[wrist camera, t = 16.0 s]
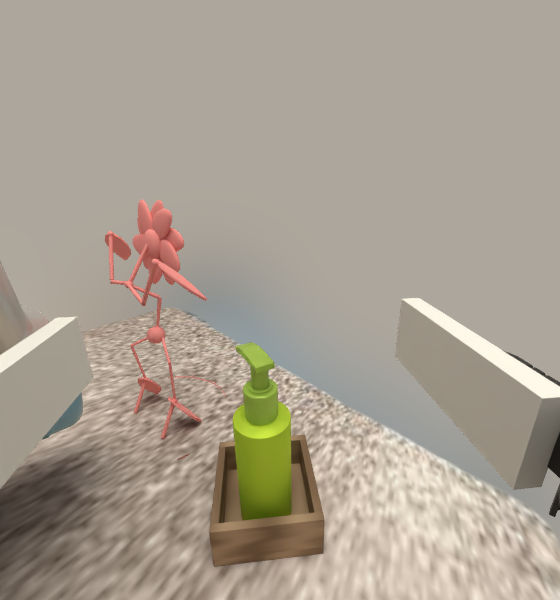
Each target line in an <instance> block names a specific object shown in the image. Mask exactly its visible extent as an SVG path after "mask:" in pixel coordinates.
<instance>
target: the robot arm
mask: <svg viewBox="0 0 560 600" xmlns="http://www.w3.org/2000/svg"><path fill="white" fill-rule="evenodd" d="M395 357H396V358H397V359H398V360H399V361H400V362H401V363H402V365H403V366H404V367H405V368H406V369H407V370H408V371H409V372H410V374H411V375H412V376H413V377H414V378H415V379H416V380H417V381H418V383H419V384H420V385H421V386H422V387H423V388H424V389H425V391H426V392H427V393H428V394H429V395H430V396H431V397H432V398H433V400H434V401H435V402H436V403H437V404H438V405H439V406H440V408H441V409H442V410H443V411H444V412H445V413H446V414H447V415H448V416H449V418H450V419H451V420H452V421H453V422H454V423H455V424H456V426H457V427H458V428H459V429H460V430H461V431H462V432H463V434H464V435H465V436H466V437H467V438H468V439H469V440H470V441H471V443H472V444H473V445H474V446H475V447H476V448H477V449H478V451H479V452H480V453H481V454H482V455H483V456H484V457H485V458H486V459H487V461H488V462H489V463H490V464H491V465H492V466H493V468H494V469H495V470H496V471H497V472H498V473H499V474H500V475H501V477H502V478H503V479H504V480H505V481H506V482H507V483H508V485H509V486H510V487H511V488H512V489H513V490H515V489H525V488H534V487H541V486H542V483H543V481H544V478H545V475H546V472H547V470H548V468H549V469H550V470H552V471H553V472H554V473H555V474H556V475H557V476H558V477H559V478H560V382H558V381H556V380H555V379H553V378H552V377H550V376H546V375H545V373H544V372H542V371H540V370H539V369H537V368H533V366H532V365H531V364H529V363H527V362H526V361H524V360H523V359H521V358H519V357H518V356H515V355H513V354H510V353H508V352H505V351H503V350H501V349H499V348H498V347H496V346H494V345H493V344H491V343H490V342H488V341H486V340H485V339H483V338H482V337H480V336H478V335H477V334H475V333H474V332H472V331H470V330H469V329H467V328H466V327H464V326H463V325H461V324H460V323H458V322H456V321H455V320H453V319H452V318H450V317H448V316H447V315H445V314H444V313H442V312H440V311H439V310H437V309H436V308H434V307H433V306H431V305H429V304H428V303H426V302H425V301H423V300H421V299H420V298H410V299H402V301H401V310H400V318H399V326H398V336H397V343H396V352H395ZM92 379H93V374H92V370H91V366H90V362H89V359H88V355H87V351H86V347H85V344H84V340H83V336H82V332H81V329H80V325H79V322H78V318H77V317H65V318H56V319H54V320H53V321H51V322H50V323H49V322H48V320H47V319H46V317H45V316H44V315H43V314H42V313H40V312H39V311H37V310H35V309H33V308H31V307H29V306H25V305H22V304H20V303H19V301H18V299H17V297H16V295H15V292H14V290H13V288H12V286H11V284H10V282H9V279H8V277H7V275H6V273H5V270H4V268H3V266H2V264H1V262H0V489H1V488H2V486H3V485H4V484H5V483H6V482H7V480H8V479H9V478H10V477H11V476H12V474H13V473H14V472H15V471H16V470H17V468H18V467H19V466H20V465H21V464H22V463H23V461H24V460H25V459H26V458H27V457H28V455H29V454H30V453H31V452H32V451H33V449H34V448H35V447H36V446H37V445H38V443H39V442H40V441H41V440H43V439H46V438H48V437H49V436H50V435H51V434H54V433H56V432H59V431H61V430H63V429H66V428H68V427H71V426H72V425H74V424H75V423H76V422H78V420H79V419H80V417H81V415H82V412H83V401H82V391H83V389H84V388H85V387H86V386H87V385H88V383H89V382H90V381H91V380H92ZM558 510H560V485H559V487H558V490H557V492H556V495H555V498H554V500H553V503H552V505H551V508H550V512H549V515H551V516H554V517H555V516H556V513H557V511H558Z"/></svg>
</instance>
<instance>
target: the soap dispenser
mask: <svg viewBox="0 0 560 600" xmlns="http://www.w3.org/2000/svg"><path fill="white" fill-rule="evenodd" d="M235 348H236V351H237V352H238V353H240V354H241V355H242V356H243V357H244V359H245V360H246V361H247V363H248V364H249V365H250V369H251V380H250V381H248V382H247V383H246V384H245V385H244V388H243V396H244V404H243V405H241V406H240V407H239V408H238V409H237V410H236V412H235V413H234V416H233V430H234V441H235V452H236V463H237V474H238V485H239V496H240V507H241V516H242V519H243V521H244V520H253V519H262V518H271V517H280V516H289V515H291V510H292V494H291V415H290V412H289V410H288V408H287V407H286V406H285V405H284V404H283V403H281V402H279V401H278V388H277V384H276V383H275V382H274V381H273V380H271V379H269V376H268V370H269V369H272V368H274V362H273V361H272V359H271V358H270V357H269V356H268V355H267V354H266V353H265V351H264V350H263V349H262V348H261V347H259V346H258V345H256V344H255V343H252V342H251V343H247V344H243V345H239V346H235Z"/></svg>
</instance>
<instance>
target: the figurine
mask: <svg viewBox="0 0 560 600" xmlns="http://www.w3.org/2000/svg"><path fill="white" fill-rule="evenodd" d="M171 222H172V215H171V212H170V211H169V210H167V209H164V207H163V204H162V202H161V200H157V202H155V204H154V205H153V207H152V210H151V213H150V211H149V209H148V207H147V205H146V203H145V201H144V200H140V202H139V205H138V228H139V232H140V234H138V235H136V236H134V238H133V245H134V247H135V249H136V251H137V252H138V253H139V254H140V257H139V260H138V262H137V264H136V266H135V268H134V271H133V273H132V275H131V277H130V280H129V281H116V280H114V269H113V252H115V253H116V254H117V255H118V256H120V257H121V258H123V259H124V260H126V259H128V258H129V256H130V255H131V250H130V248H129V246H128V244H127V243H126V242H125V241H124V240H122V238H120V237H119V236H117V235H115V234H114V233H113V232H112V231H109V232H108V233H107V234H106V235H105V242H106V244H107V245H108V246H109V265H110V280H112V281H111V284H121V285H125V286H126V287H127V288H129V289H130V290H131V292H132V293H133V294H134V296H135V297H136V298H137V299H138V301H139V302H140V303H141V304H142V305H143V306H145V305H146V301H147V298H148V295H150V296H153V297H155V298H157V299H158V303H157V304H158V305H157V324H156V326H155V327H152V328H150V329H149V330H148V332H147V337H146V338H144V339H142V340H140V341H138V342H136V343H133V344H131V349H132V351H133V354H134V356H135V358H136V360H137V363H138V365H139V367H140V370H141V372H142V374H143V376H144V378H142V377H141V378H138V383H139V385H140V386H142V387H141V390H140V394H139V397H138V400H137V404H136V407H135V410H134V413H137V412H138V408H139V405H140V402H141V399H142V395H143V392H144V389H147V390H149V391H151V392H153V393H155V394H158V393H159V392H160V391H161V387H160V386H159V385H158V384H157V383H155V382H154V381H152V380H150V379H148V378H146V376H145V373H144V371H143V369H142V366H141V364H140V362H139V359H138V357H137V354H136V352H135V350H134V347H133V346H134V345H136V344H138V343H140V342H143V341H145V340H147V339H148V340H149V341H150V342H152V343H160V342H163V346H164V349H165V353H166V357H167V360H168V364H169V371H170V377H168V378H171V384H172V391H173V398H171V397H168V398H167V399H168V400H169V401H170V402H171V406H170V409H169V412H168V416H167V419H166V422H165V426H164V429H163V432H162V436H161V438H165V435H166V432H167V428H168V425H169V422H170V418H171V415H172V412H173V408H174V405H175V406H176V407H177V408H179V409H180V410H181V411H183V412H184V413H185V414H187V415H188V416H190V417H192V418H193V419H195V420H197V421H199V422H201V421H202V420H201V419H199V418H198V417H197V416H196V415H195V414H193V413H192V412H191V411H190V410H188V409H187V408H186V407H184V406H183V405H182V404H180V403H179V402H178V400H177V399H176V395H175V388H174V381H173V373H172V366H171V362H170V359H169V355H168V351H167V348H166V344H165V341H164V338H165V331H164V330H163V329H162V328H161V327H160V326H159V319H160V310H161V298H160V297H159V295H157V294H154V293H152V292H149V291H150V287H151V284H152V283H154V284H156V283H157V282H158V281H159V280H160V278H161V276H162V272H163V274H164V277H165V279H166V281H167V282H168V283H169V284H171V285H173V284H174V282H177V283H178V284H179V285H181V286H182V287H183V288H185V289H187V290H188V291H189V292H191V293H192V294H194V295H196V296H198V297H199V298H201V299H203V300H205V301H206V300H207V298H206V297H205V296H204V295H203V294H201V293H200V291H199V290H197V289H196V288H195V287H194V286H193V285H192V284H191V283H190V282H189V281H187V280H186V279H185V278H184V277H183V276H181V275H180V274H179V273H177V272H178V271H179V270H180V263H179V259H178V255H177V253H176V252H177V251H179V250H180V249H182V248H183V246H184V240H183V238H182V236H181V235H180V234H179V232H178V231H176V230H175V229H174V228H170V226H171ZM142 261H143V263H144V266H145V268H147V269H149V278H148V282H147V285H146V288H145V290H144V289H142V288H139V287H136V286H134V285H133V280H134V278H135V276H136V274H137V271H138V269H139V267H140V265H141V263H142ZM135 289H136V290H139V291H141V292H143V293H144V295H143V299H142V298H141V297H140V296H139V294H138V293H137V292H136V290H135ZM189 376H192V375H189ZM177 377H186V376H177ZM191 378H196V377H191ZM198 379H201V378H198ZM202 380H204V379H202ZM206 381H207V380H206ZM209 382H210V381H209ZM211 383H212V382H211ZM215 383H216V382H215ZM213 384H214V383H213ZM215 385H216V384H215ZM216 386H217V385H216ZM217 387H218V386H217ZM219 388H220V387H219ZM220 389H221V388H220ZM221 390H222V389H221ZM224 394H225V393H224ZM225 396H226V395H225ZM188 455H189V454H188ZM186 456H187V455H186ZM183 457H185V456H183ZM183 457H181V458H183ZM181 458H179V459H181ZM179 459H178V460H179Z"/></svg>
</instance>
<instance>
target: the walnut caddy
mask: <svg viewBox="0 0 560 600" xmlns="http://www.w3.org/2000/svg"><path fill="white" fill-rule="evenodd" d="M291 494H292V510H291V515H289V516H280V517H271V518H262V519H253V520H244V521H243V519H242V516H241V507H240V496H239V485H238V474H237V463H236V452H235V441H231V442H220V445H219V454H218V462H217V471H216V480H215V488H214V497H213V505H212V514H211V523H210V531H209V534H210V541H211V548H212V554H213V561H214V566H223V565H231V564H239V563H247V562H255V561H263V560H271V559H280V558H288V557H296V556H304V555H312V554H320V553H323V541H324V516H323V512H322V507H321V503H320V499H319V494H318V490H317V486H316V481H315V477H314V472H313V468H312V464H311V459H310V455H309V451H308V446H307V442H306V437H305V435H298V436H291Z"/></svg>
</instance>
